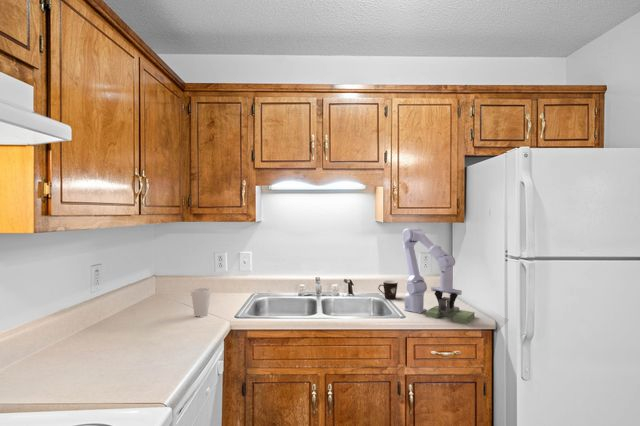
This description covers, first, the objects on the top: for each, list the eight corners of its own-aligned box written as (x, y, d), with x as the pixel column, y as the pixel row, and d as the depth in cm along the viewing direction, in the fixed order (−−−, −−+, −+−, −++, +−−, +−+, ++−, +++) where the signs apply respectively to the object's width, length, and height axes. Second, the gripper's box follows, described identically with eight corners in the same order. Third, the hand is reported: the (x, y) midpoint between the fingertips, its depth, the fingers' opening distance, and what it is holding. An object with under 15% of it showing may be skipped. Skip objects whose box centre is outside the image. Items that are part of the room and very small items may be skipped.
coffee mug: (396, 296, 240) (396, 280, 240) (398, 300, 232) (398, 283, 231) (377, 296, 241) (377, 280, 241) (378, 299, 233) (378, 283, 233)
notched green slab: (425, 316, 199) (425, 308, 199) (435, 310, 210) (436, 302, 210) (465, 323, 187) (465, 315, 187) (474, 317, 198) (474, 309, 198)
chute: (438, 311, 192) (438, 299, 192) (444, 308, 199) (444, 296, 199) (448, 313, 189) (448, 301, 189) (454, 310, 196) (454, 298, 196)
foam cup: (201, 311, 205) (201, 287, 204) (214, 314, 200) (214, 289, 200) (187, 316, 197) (187, 290, 196) (200, 319, 192) (200, 292, 191)
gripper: (463, 280, 192) (463, 308, 192) (435, 277, 201) (434, 303, 201) (459, 282, 186) (458, 311, 187) (429, 279, 195) (429, 306, 196)
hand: (446, 307), depth 194 cm, fingers closed on chute, 5 cm apart
